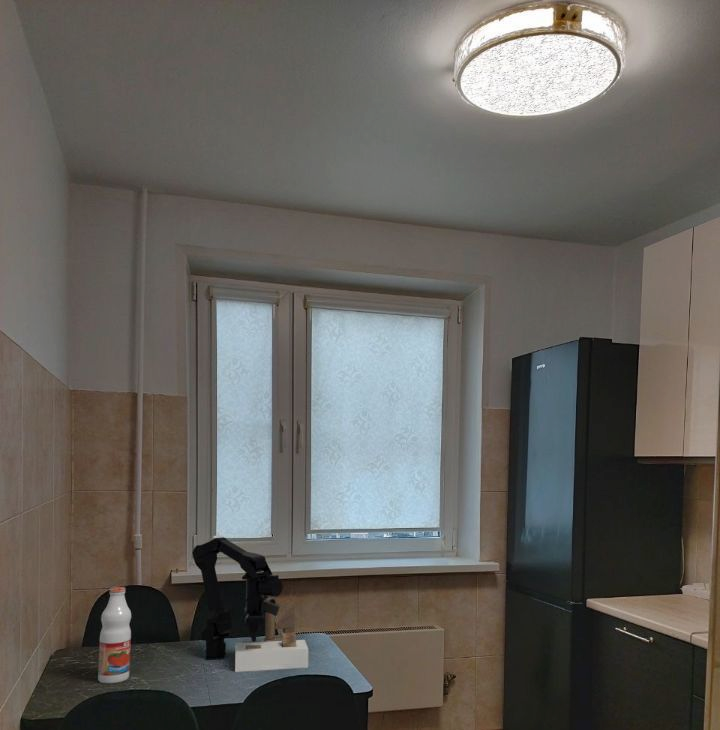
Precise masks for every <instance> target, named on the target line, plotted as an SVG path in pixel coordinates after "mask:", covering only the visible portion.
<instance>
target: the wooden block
mask: <svg viewBox="0 0 720 730" xmlns="http://www.w3.org/2000/svg"><path fill="white" fill-rule="evenodd" d="M271 598H273V599H275V600H276V597H275V598H274V597H267V598H265V600H266V601H267V600H268V601H269V600H270V599H271ZM264 614H265V615H264V618H265V624H264V625H265V626H264V627H265V628H264V629H265V631H264V632H265V633H264V637H265V638H263V642H270V641H282V636H281V637H280V636H276V630H282V633H294V632H295V607H294V606H291V607H290V608H289V609H288V610H287V611H286V612H285V613H284V615H283V616H281V618H280V619H279V620H278V621H277V623H276V616H274V615H273V614H270V613H267V612H265V613H264Z"/></svg>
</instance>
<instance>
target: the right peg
mask: <svg viewBox="0 0 720 730" xmlns="http://www.w3.org/2000/svg"><path fill="white" fill-rule="evenodd" d="M281 637H282V647H296V640H297V635H296V632H295V631H294V633H283V632H282V633H281Z"/></svg>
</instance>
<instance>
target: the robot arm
mask: <svg viewBox="0 0 720 730" xmlns="http://www.w3.org/2000/svg"><path fill="white" fill-rule="evenodd" d="M220 553H221V554H223V555H225V556H226V557H228V558H229V559H231V560H233V561H235V562H236V563H238V564H239V566H240V569H242V570H243V571H244V572H245V574H244V575H243V576H242V577H241V579H242V580H246V583H245V584H246V587H245V588H246V589H245V592H246V593H245V608H244V616H245V619H244V621H245V626H246V627H247V631H248V634H249V636H250V639H251V642H256V641H257V637H258V633H259V628H260V626H261V625H262V626H263V625H265V615H264V614H265V613H266V612H267V613H270V614H273V615H274V616H275V617H277V616H278V613H279V610H280V608H281V607H280V604H278V603H276V597H279V596H280V595H281V594H282V593H283V589H284V588H283V587H284V585H283V583H282V581H281V579H280V576H279V575H278V574H275V575H273V572H272V571H271V568H270V566H269V564H268V562H267V561H266V557H265V556H264V555H262V554H260V553H256V552H250V551H247V550H245V549H243V548H242V547H240V546H238V545H236V544H235V543H233V542H232V541H230V540H229V539H228V538H226V537H224V536H223V537H222V536H221V537H214V538H213V539H211V540H210V541H207V542H205V543H203V544H197V545H195V547H193V550H192V558H193V561H194V563H195V565H196V566H197V569H199V570H200V572H201V578H202V582H203V587H204V592H205V597H206V602H207V608H208V612H207V613H208V614H207V617H206V627H205V628H204V630H203V631H202V632H201V633H200V636H201V640H202V641H203V642H205V657H204V660H217V659H216V658H219V659H220V658H223V659H225V656H226V651H227V644H226V643H227V641H225V638H229V637H230V633H231V630H232V628H233V622H234V621H233V618H232V615H231V614H232V613H231V611H230V610H226V609H225V608H224V606H223V599H222V597H221V591H220V586H219V581H218V576H217V571H216V564H217V561H218V554H220ZM264 596H269V597H270V596H271V597H270V598H271V599H270V600H269V601H268V600H267V601H266V599H265V597H264ZM274 597H275V599H273V598H274ZM220 660H221V659H220Z"/></svg>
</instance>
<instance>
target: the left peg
mask: <svg viewBox="0 0 720 730" xmlns="http://www.w3.org/2000/svg"><path fill="white" fill-rule="evenodd" d="M247 649H260V645H252V646H247Z"/></svg>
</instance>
